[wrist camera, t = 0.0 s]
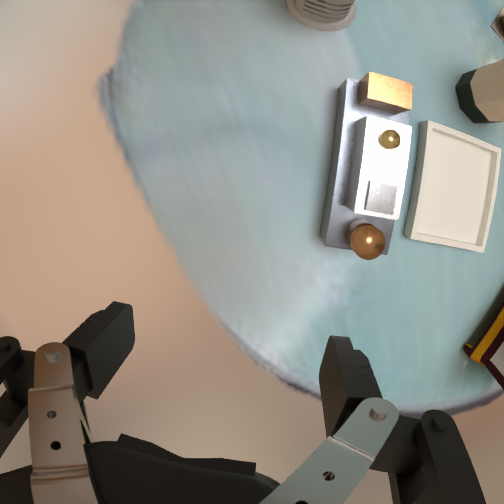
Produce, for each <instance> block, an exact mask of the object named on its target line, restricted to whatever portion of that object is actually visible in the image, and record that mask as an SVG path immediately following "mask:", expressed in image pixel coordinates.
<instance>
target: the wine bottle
mask: <svg viewBox="0 0 504 504" xmlns="http://www.w3.org/2000/svg"><path fill="white" fill-rule="evenodd" d="M455 88H456V92H457V96H458V101H459V105H460V109H461V110H462V111H463V112H464V113H465V114H466V115H467V116H468V117H469V118H470V119H471V120H472V122H473V123H495V122H504V60H501V61H498V62H495V63H492V64H489V65H487V66H484V67H481V68H478V69H475V70H473V71H470V72H467V73H465V74H463V75H462V76H461V78H460V80H459V82H458V84H457V86H456V87H455Z"/></svg>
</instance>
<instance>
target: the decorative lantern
mask: <svg viewBox="0 0 504 504" xmlns="http://www.w3.org/2000/svg"><path fill="white" fill-rule="evenodd" d="M463 348H464V351H465V353H466V354H467V355H468V357H469V358H471V359H472V360H474V361H476V362H478V363H480V364H482V365H484V366H486V367H487V369H488V370H489V371H490V373H491V374H492V375H493V376H494V378H495V379H496V380H497V382H498V383H499V384H500V386H501V387H502V388H503V390H504V303H503V305H502V306H501V308H500V309H499V311H498V313H497V314H496V316H495V317H494V319H493V320H492V322H491V323H490V325H489V326H488V328H487V329H486V331H485V332H484V334H483V335H482V337H481V338H480V339H479V341H478V342H477V344H476V345H475V346H474V347H472V346H471V345H469V344H465V345H464V347H463Z"/></svg>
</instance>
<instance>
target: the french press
mask: <svg viewBox="0 0 504 504" xmlns="http://www.w3.org/2000/svg"><path fill="white" fill-rule="evenodd" d="M354 1H355V0H286V3H287V6H288V9H289V12H290V13H291V14H292V15H293V17H294V18H295V19H296V20H297V21H298V22H300V23H302V24H304V25H305V26H307V27H309V28H312V29H316V30H320V31H338V30H340V29H342V28H345V27H347V26H349V24H350V23H351V22H352V21H353V20H354V19H355V14H356V6H355V3H354Z"/></svg>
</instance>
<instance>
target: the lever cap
mask: <svg viewBox="0 0 504 504" xmlns="http://www.w3.org/2000/svg"><path fill="white" fill-rule="evenodd" d="M411 130H412V127H410V126H407V125H403V124H400V123H396V122H392V121H389V120H385V119H381V118H377V117H373V116H368V115H367V116H365V117H363V118H361V119H359V120H356V128H355V137H354V146H353V154H352V161H351V169H350V176H349V183H348V189H347V196H346V202H345V206H346V207H347V208H348V209H350V210H351V211H352V212H354V213H359V214H365V215H370V216H376V217H382V218H387V219H393V220H398V219H399V214H400V209H401V203H402V197H403V192H404V185H405V179H406V172H407V165H408V157H409V149H410V140H411Z"/></svg>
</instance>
